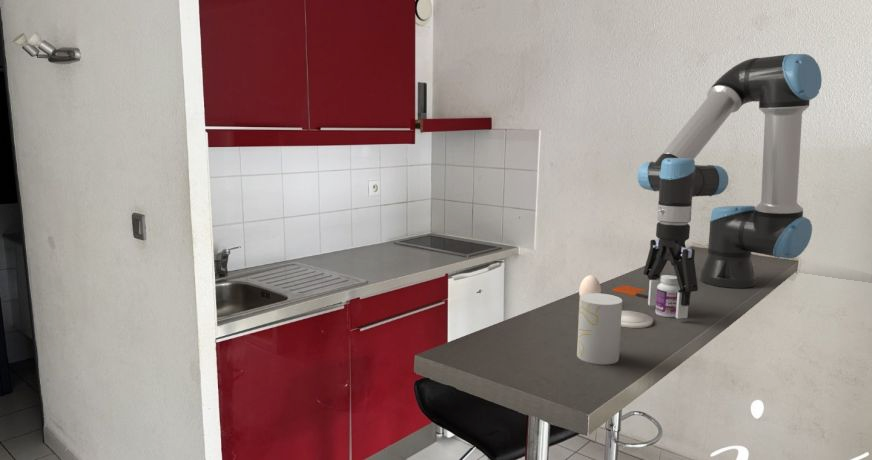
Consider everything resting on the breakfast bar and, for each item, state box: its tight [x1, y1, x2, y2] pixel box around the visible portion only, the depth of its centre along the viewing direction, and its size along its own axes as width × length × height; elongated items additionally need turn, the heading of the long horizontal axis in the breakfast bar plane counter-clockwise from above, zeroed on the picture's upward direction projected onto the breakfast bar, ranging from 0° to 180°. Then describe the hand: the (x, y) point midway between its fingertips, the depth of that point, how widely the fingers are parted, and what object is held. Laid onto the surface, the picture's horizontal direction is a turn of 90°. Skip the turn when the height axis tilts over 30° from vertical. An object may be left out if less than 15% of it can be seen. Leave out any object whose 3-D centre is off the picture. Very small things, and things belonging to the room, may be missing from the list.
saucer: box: [621, 310, 654, 329], centre depth 143 cm, size 11×11×1 cm
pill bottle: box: [655, 274, 680, 318], centre depth 147 cm, size 5×5×10 cm
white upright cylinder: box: [576, 292, 623, 365], centre depth 119 cm, size 8×8×12 cm
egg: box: [578, 275, 602, 297], centre depth 155 cm, size 6×6×8 cm
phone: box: [612, 285, 649, 300], centre depth 166 cm, size 6×1×15 cm
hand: (666, 311), depth 148 cm, fingers open, 10 cm apart
